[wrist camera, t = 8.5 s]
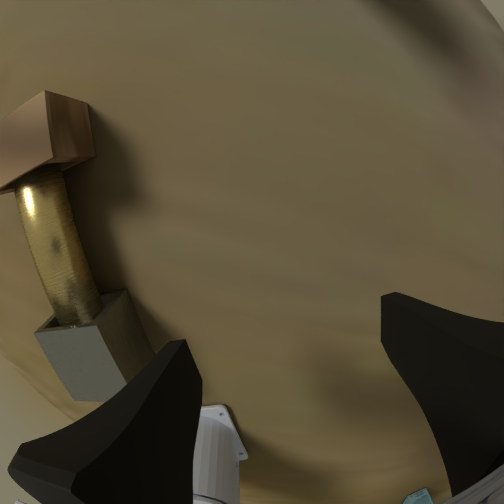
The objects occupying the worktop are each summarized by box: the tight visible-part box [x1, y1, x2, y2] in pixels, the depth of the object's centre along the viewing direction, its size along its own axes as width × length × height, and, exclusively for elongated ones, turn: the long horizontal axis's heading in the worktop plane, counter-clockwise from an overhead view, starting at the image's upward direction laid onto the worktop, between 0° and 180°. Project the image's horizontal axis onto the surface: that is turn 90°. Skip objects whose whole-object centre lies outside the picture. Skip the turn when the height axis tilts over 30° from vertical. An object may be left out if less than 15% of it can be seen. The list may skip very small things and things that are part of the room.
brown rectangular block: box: [0, 90, 96, 195], centre depth 13 cm, size 4×7×5 cm, turn 102°
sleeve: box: [34, 289, 155, 402], centre depth 18 cm, size 6×6×5 cm
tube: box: [12, 163, 105, 327], centre depth 15 cm, size 13×4×4 cm, turn 12°
